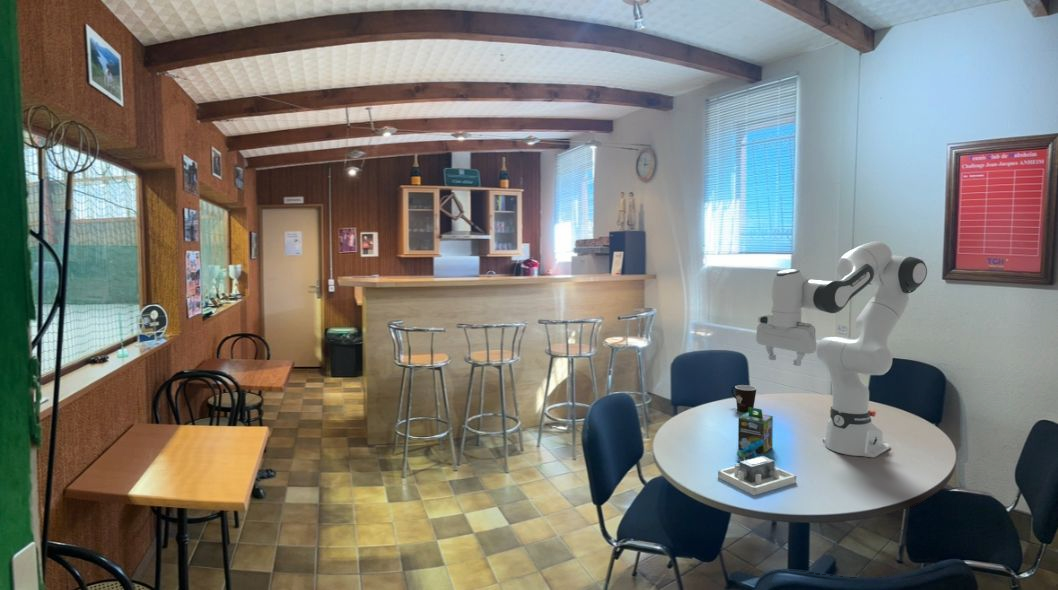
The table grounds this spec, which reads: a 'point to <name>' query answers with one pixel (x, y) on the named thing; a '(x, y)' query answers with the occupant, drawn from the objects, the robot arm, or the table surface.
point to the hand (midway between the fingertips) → (784, 362)
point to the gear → (750, 450)
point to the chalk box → (755, 430)
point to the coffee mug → (744, 397)
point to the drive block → (757, 468)
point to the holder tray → (752, 486)
